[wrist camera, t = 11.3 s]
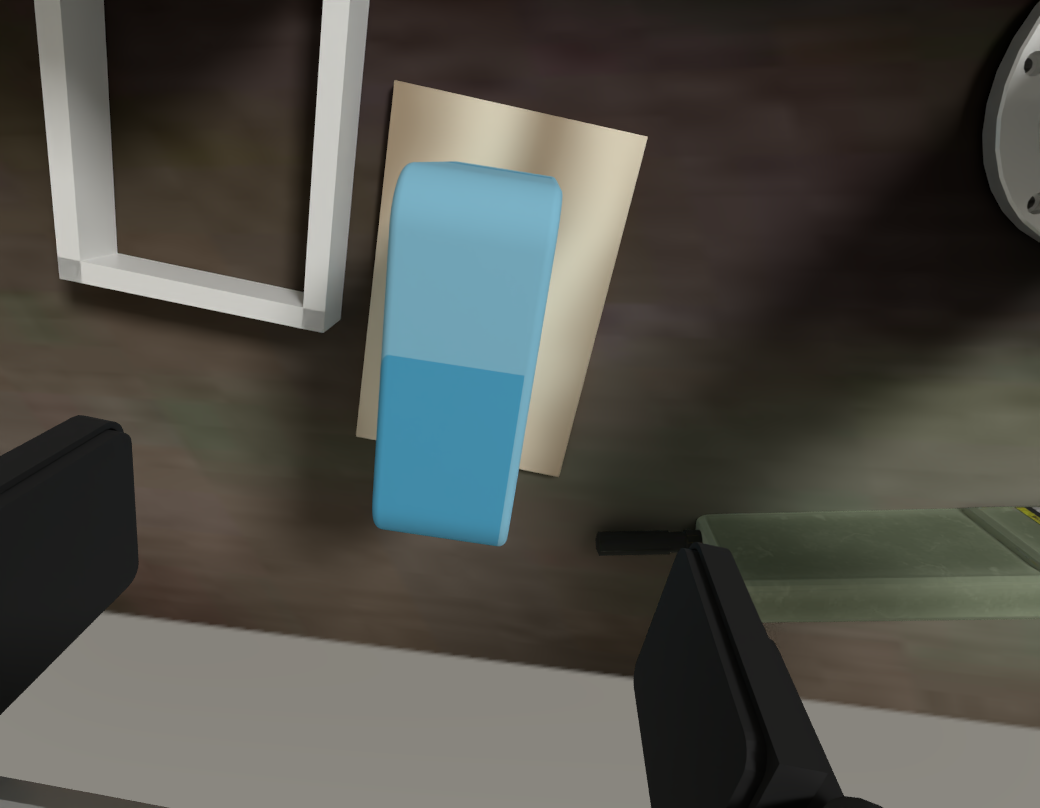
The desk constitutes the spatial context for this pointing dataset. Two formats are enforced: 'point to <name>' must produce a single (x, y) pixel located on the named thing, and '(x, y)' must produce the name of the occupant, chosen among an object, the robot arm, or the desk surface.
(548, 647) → the desk surface
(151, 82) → the desk surface
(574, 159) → the birch board
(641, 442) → the desk surface
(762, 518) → the handheld radio
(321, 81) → the stand
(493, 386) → the data package
